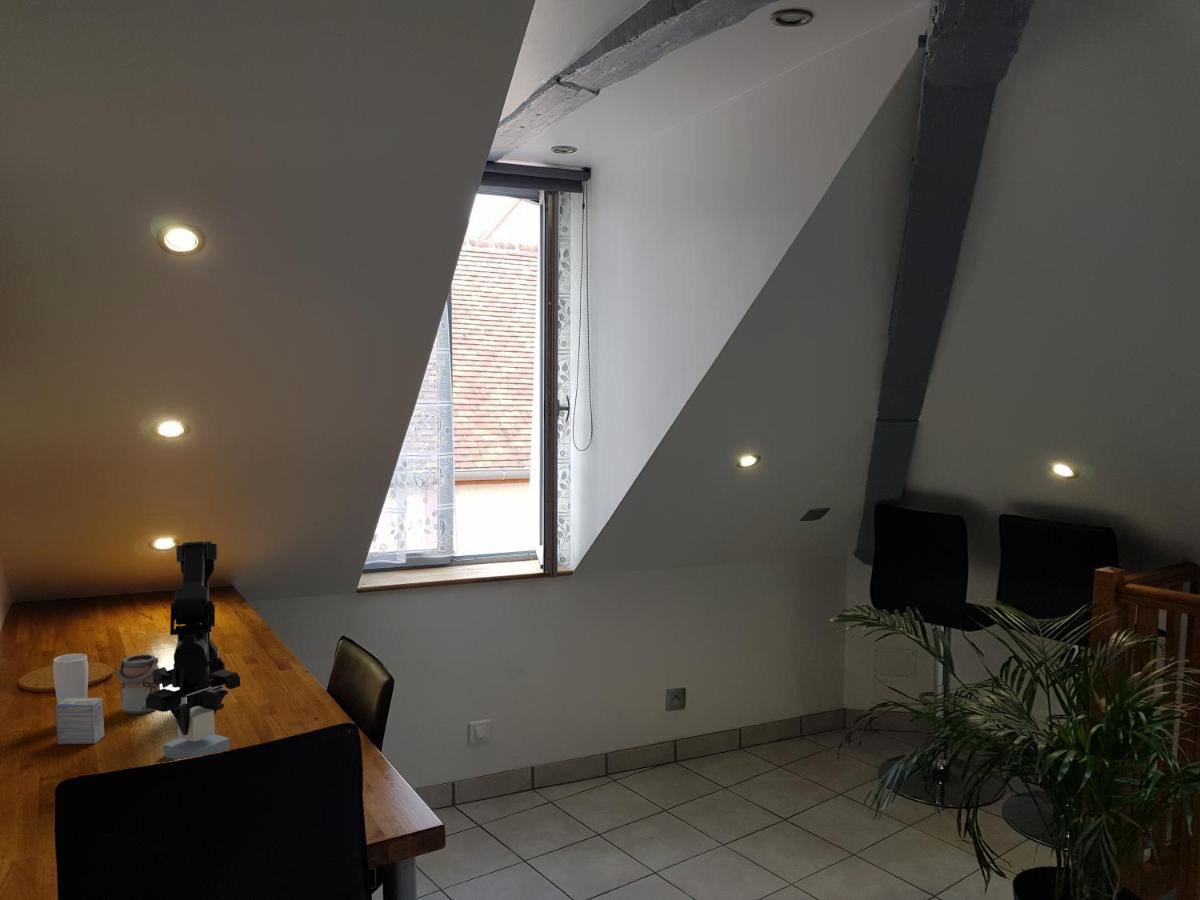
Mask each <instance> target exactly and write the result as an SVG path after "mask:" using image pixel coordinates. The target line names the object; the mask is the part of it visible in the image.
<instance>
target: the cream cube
mask: <svg viewBox="0 0 1200 900" xmlns="http://www.w3.org/2000/svg"><path fill="white" fill-rule="evenodd" d="M176 724H177V723H176ZM176 726H177V738H183V739H186V740H189V741H193V742H195V741H197V740H200V739H203V738H205V737H208V736H210V735H213V734H216V732H215V716H214V710H211V709H207V708H204V707H200V706H196V707H193V708H191V710H190V720H189V729H188V734H187V735H183V734H182V732H181V730H180V728H179V726H178V724H177V725H176Z"/></svg>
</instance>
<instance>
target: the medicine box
mask: <svg viewBox="0 0 1200 900" xmlns="http://www.w3.org/2000/svg"><path fill="white" fill-rule="evenodd" d="M103 707H104V705H103V698H102V697H87V698H67V699H65V700H63V701H61V702H60V703H59V704H56V705H55V718H56V719H55V720H56V733H57V744H58V745H80V744H81V745H82V744H83V745H84V744H85V745H87V744H88V745H91V744H96V743H98V742H99V741H100V740H102V739H103V737H105V724H104V708H103Z"/></svg>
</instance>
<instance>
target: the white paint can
mask: <svg viewBox="0 0 1200 900" xmlns="http://www.w3.org/2000/svg"><path fill="white" fill-rule="evenodd" d="M158 663H159V657H156V656H155V655H153V654H149V653H147V654H136V655H135V654H134V655H131V656H128V657H126V658H124V657H123V658H122V659H120V664H119V667H118V669H117V672H116V673H117V675H116V676H117V678H118V679H119V680H120V694H121V695H120V696H121V698H120V699H121V709H122V710H123V712H124V713H126V714H129V715H142V714H147V713H152V712H154V711H155V710H154V709H150V708H147V707H146V697H147V696H148V694H149V693H152V692H155V691H158V690H161V684H159V685H155V684H154V681H153V670H156V669H159V668H160V667H159V665H158Z"/></svg>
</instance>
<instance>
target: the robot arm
mask: <svg viewBox="0 0 1200 900" xmlns="http://www.w3.org/2000/svg"><path fill="white" fill-rule="evenodd" d="M175 549H176V551H175V552H176V553H175V554H176V563H177V564H180V572H181V574H182V584H181V587H180V588H179V589H177V590H176V591H175V592H174V602H171V603H170V625H169V627H170V630H169V635H170V636H177V644H176V646H175V650H174V653H173V661H174V663H173V668H172V669H168V670H167V668H166V667H165V666H164V667H163V666H162V667H159V669H156V670H153V681H154V684H155V685H159V684H160V685H161V687H162V689H161V688H160V690H158V691H155V692H152V693H149V694H148V696H147V697H146V707H147V708H150V709H154V711H158V712H160V713H161V712H162V713H166V712H170V713H171V714H172V715H173V718H174V719H175V721H176V724H178V726H179V728H180V730H181V732H182V734H183V735H187V734H188V729H189V720H190V710H191V708H193V707H196V706H200V707H204V708H207V709H211V710H214V717H215V716H216V713H217V711H218V710H219V709H221V708H223V707H225V704H224V703H222V702H223V700H224V699H225V696H226V695H229V691H228V690H233V689H235V688H238V687H241V686H242V685H241V683H242V682H241V681H242V680H241V677H240V674H239V673H238V672H235V671H230V670H226V664H225V662H224V661H223V659H222V657H220V656H219V648H218V646H217V645H216V644H215V643H214V641H213V640H212V638H211V633H212V630H213V627H215V625H216V605H215V604H214V603H213V602H214V601H213V600H212V599H210V588H209V580H210V578H211V576H212V575H213V573H214V571H215V567H216V562H218V560H219V556H218V555H219V553H218V552H219V551H218V550H219V549H218V544H217V543H213V542H212V540H208V541H207V540H206V541H205V540H204V541H202V540H201V541H187V542H183V543H182V544H180V545H176V548H175ZM170 685H171V686H172V688H179V689H177V690H170V689H167V688H166V687H168V686H170ZM224 686H225V688H226V689H228V690H225V689H224Z"/></svg>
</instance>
